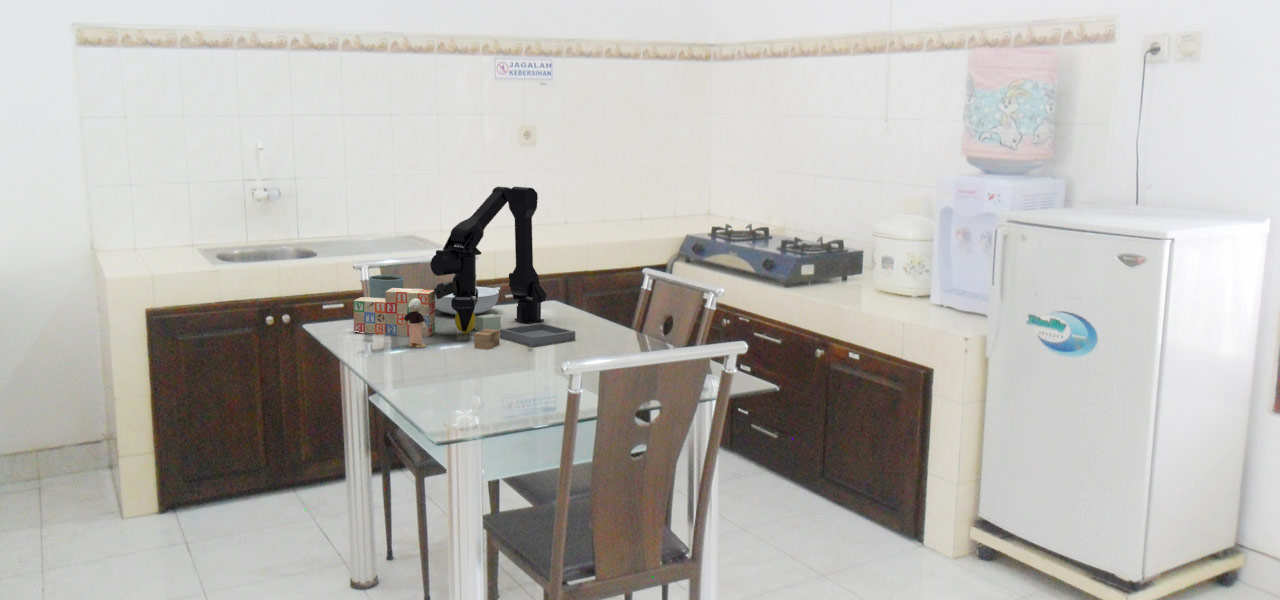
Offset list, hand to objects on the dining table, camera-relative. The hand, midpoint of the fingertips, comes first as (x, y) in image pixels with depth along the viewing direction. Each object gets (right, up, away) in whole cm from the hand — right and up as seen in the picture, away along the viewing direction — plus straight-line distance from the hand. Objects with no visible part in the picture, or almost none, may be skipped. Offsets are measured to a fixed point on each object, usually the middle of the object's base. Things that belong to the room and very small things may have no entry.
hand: (465, 327), depth 299 cm
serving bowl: (-5, +3, +32) cm, 32 cm away
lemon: (0, -2, 0) cm, 2 cm away
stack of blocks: (-20, -2, 0) cm, 20 cm away
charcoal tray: (+20, -3, -4) cm, 21 cm away
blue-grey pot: (-27, +2, +23) cm, 35 cm away
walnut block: (+8, -5, -14) cm, 17 cm away
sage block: (+5, -1, +8) cm, 9 cm away
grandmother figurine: (-10, -5, -16) cm, 20 cm away
